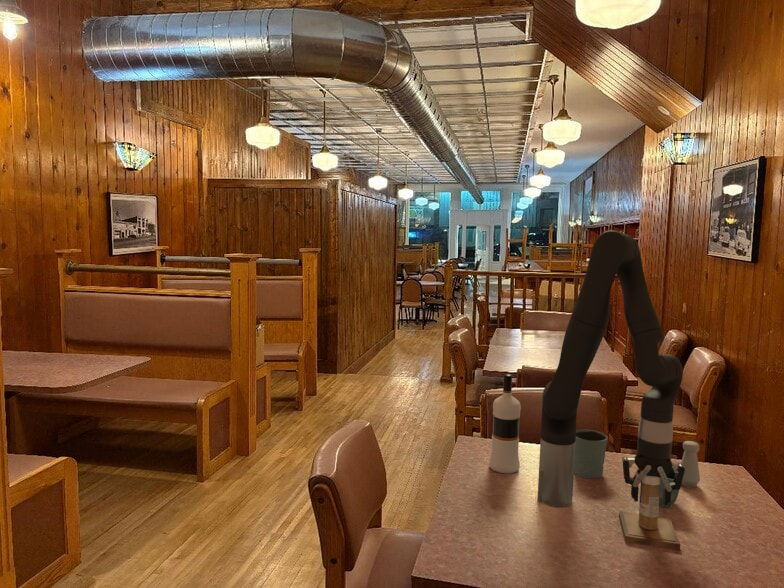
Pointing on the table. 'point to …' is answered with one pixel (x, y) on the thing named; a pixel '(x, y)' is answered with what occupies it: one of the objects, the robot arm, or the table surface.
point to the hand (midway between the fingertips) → (650, 501)
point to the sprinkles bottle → (649, 502)
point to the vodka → (505, 431)
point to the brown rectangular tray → (648, 532)
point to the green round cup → (589, 453)
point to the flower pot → (674, 493)
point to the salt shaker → (690, 464)
